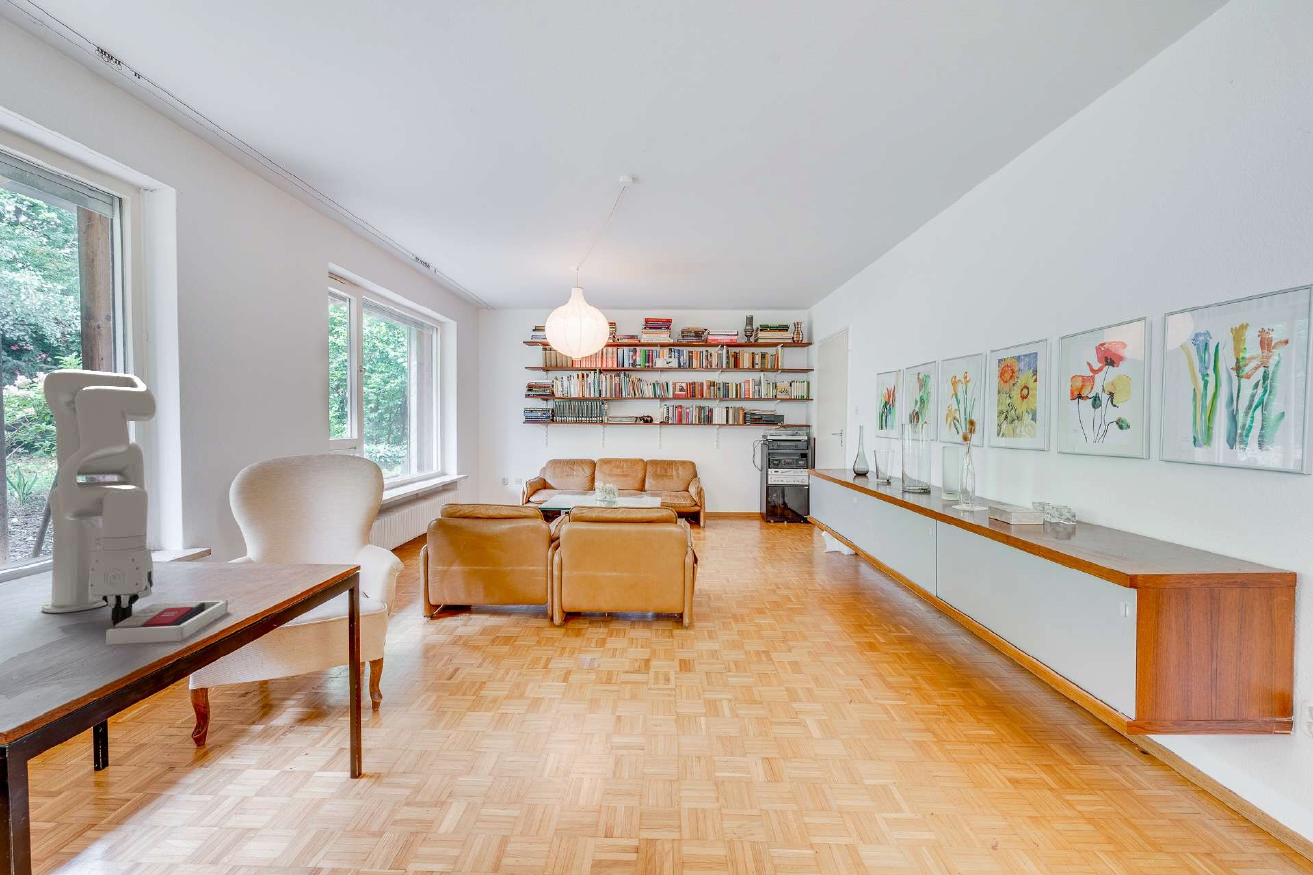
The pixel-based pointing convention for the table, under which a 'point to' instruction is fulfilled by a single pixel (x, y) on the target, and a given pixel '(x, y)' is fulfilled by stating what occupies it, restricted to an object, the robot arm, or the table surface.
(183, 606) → the calculator
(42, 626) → the table surface
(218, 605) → the white u-shaped fence
